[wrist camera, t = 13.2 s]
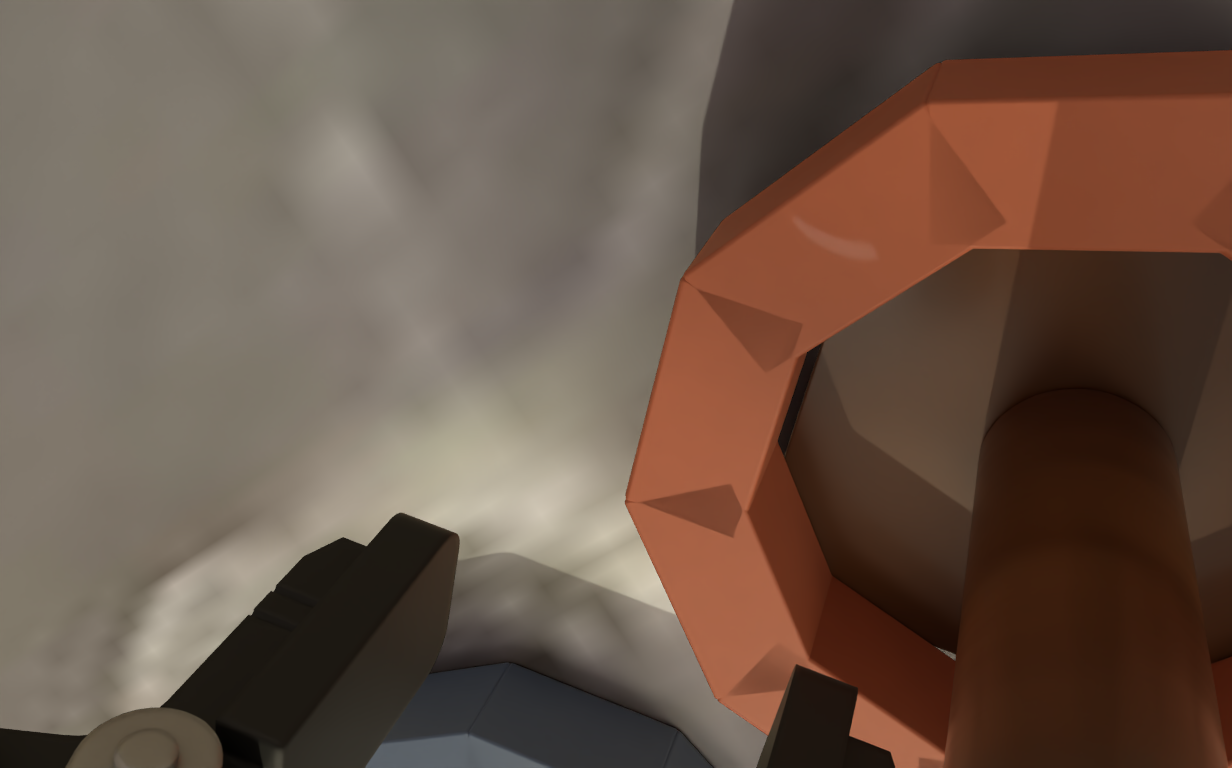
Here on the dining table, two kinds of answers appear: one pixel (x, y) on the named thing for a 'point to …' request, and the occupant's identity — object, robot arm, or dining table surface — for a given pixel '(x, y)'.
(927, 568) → the post
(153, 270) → the dining table surface
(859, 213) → the terracotta ring
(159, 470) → the dining table surface
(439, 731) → the slate ring
